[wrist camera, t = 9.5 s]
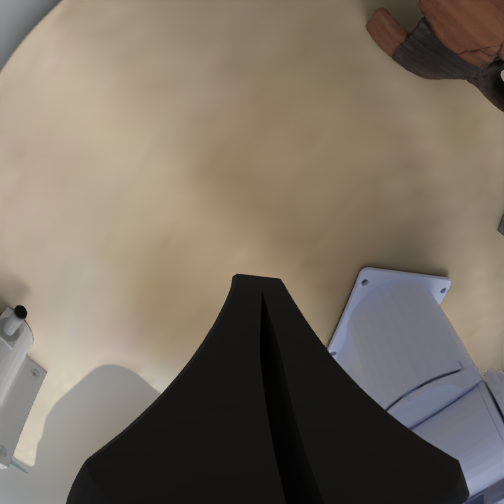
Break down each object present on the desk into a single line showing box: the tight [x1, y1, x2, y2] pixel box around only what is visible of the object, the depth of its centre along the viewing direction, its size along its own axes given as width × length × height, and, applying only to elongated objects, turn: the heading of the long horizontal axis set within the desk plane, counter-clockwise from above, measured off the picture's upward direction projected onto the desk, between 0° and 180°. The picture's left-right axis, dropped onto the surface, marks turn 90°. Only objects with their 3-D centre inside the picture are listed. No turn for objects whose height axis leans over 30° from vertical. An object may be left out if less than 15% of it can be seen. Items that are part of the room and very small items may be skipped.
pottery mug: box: [366, 0, 504, 112], centre depth 10 cm, size 12×10×8 cm
